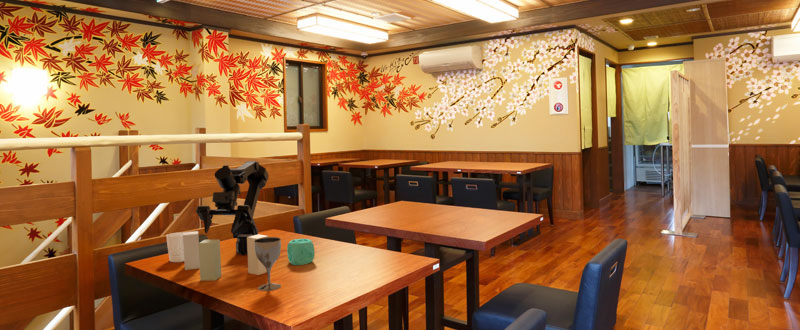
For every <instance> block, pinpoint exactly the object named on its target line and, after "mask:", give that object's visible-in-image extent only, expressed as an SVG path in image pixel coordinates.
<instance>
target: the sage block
mask: <svg viewBox="0 0 800 330" xmlns="http://www.w3.org/2000/svg"><path fill="white" fill-rule="evenodd" d="M221 257H222V255H221V240H220V239H219V238H218V239H203V240H201V241H200V242H199V261H200V268H199V276H200V277H199V278H200V281H216V280H218V279H219V278H220V277H222V263H221V261H222V259H221Z"/></svg>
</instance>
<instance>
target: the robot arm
mask: <svg viewBox="0 0 800 330" xmlns="http://www.w3.org/2000/svg"><path fill="white" fill-rule="evenodd" d="M214 178H215V179H216V181H217V183H218V185H219V187H220V188H221V189H222V191H217V192H215V191H214V192H213V193H212V203H213V202H214V207H215V208H211V207H210V206H209V205H198V206H197V207H196V210H195V213H196V214H197V217H198V218H199V219H200V220H201V221H202V222H203V227H204V234H208V233H209V230H210V227H211V225H212V222H213V220H212V219H213V218H214V216H234V219H233V223H232V224H231V229H230V232H231V234H232V237H233V239H236V241H235V253H237V254H239V255H243V256H244V255H248V251H247V237H250V236H254V235H258V234H259V229H258V228H257V225H256V222H255V220H254V214H255V211H256V206H257V203H258V199H259V195H260V192H261V190H262V189H263V188H264V187H265V186H266V185H267V182H268V181H269V178H270V177H269V173H268V170H267V169H266V168H265V167H264V166H263V165H261V164H260V163H259V162H258V161H256V160H250V161H249V160H248V161H245V162H244V164H241V165H240V166H238V167H237V168H230V166H229V165H222V167H220V168H219V169H217V170H216V171H215V172H214ZM246 182H247V183H248V189H247V191H246V195H245V199H244V202H243V205H242V204H241V205H240V204H239V205H238V202H237V201H238V198H239V195H240V194H242V192H241V186H240V185H244V184H245V183H246ZM236 207H237V208H236ZM235 208H236V209H235Z"/></svg>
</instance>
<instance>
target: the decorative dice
mask: <svg viewBox="0 0 800 330" xmlns="http://www.w3.org/2000/svg"><path fill="white" fill-rule="evenodd" d="M286 247H287V249H286V253H287V259H288V262H289V264H291V265H292V266H304V264H305V265H308V263H309V264H311V263H312V262H313V261H314V259H315V256H316V255H315V247H314V243H313V240H311V239H309V238H297V239H296V238H295V239H292V240H290V241H289V242H288V243H287V246H286Z"/></svg>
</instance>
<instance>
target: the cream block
mask: <svg viewBox="0 0 800 330" xmlns="http://www.w3.org/2000/svg"><path fill="white" fill-rule="evenodd" d="M264 237H269V235H267V234H266V235H264V234H259V233H258V235H254V236H250V237H247V251H248V254H247V272H248V274H251V275H257V276H259V275H263V274H267V270H266V268H265V266H264V265H263V264H262V263H261V262H260V261H259V260H258V259H257V256H256V253H255V247H254V240H256V239H259V238H264Z"/></svg>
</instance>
